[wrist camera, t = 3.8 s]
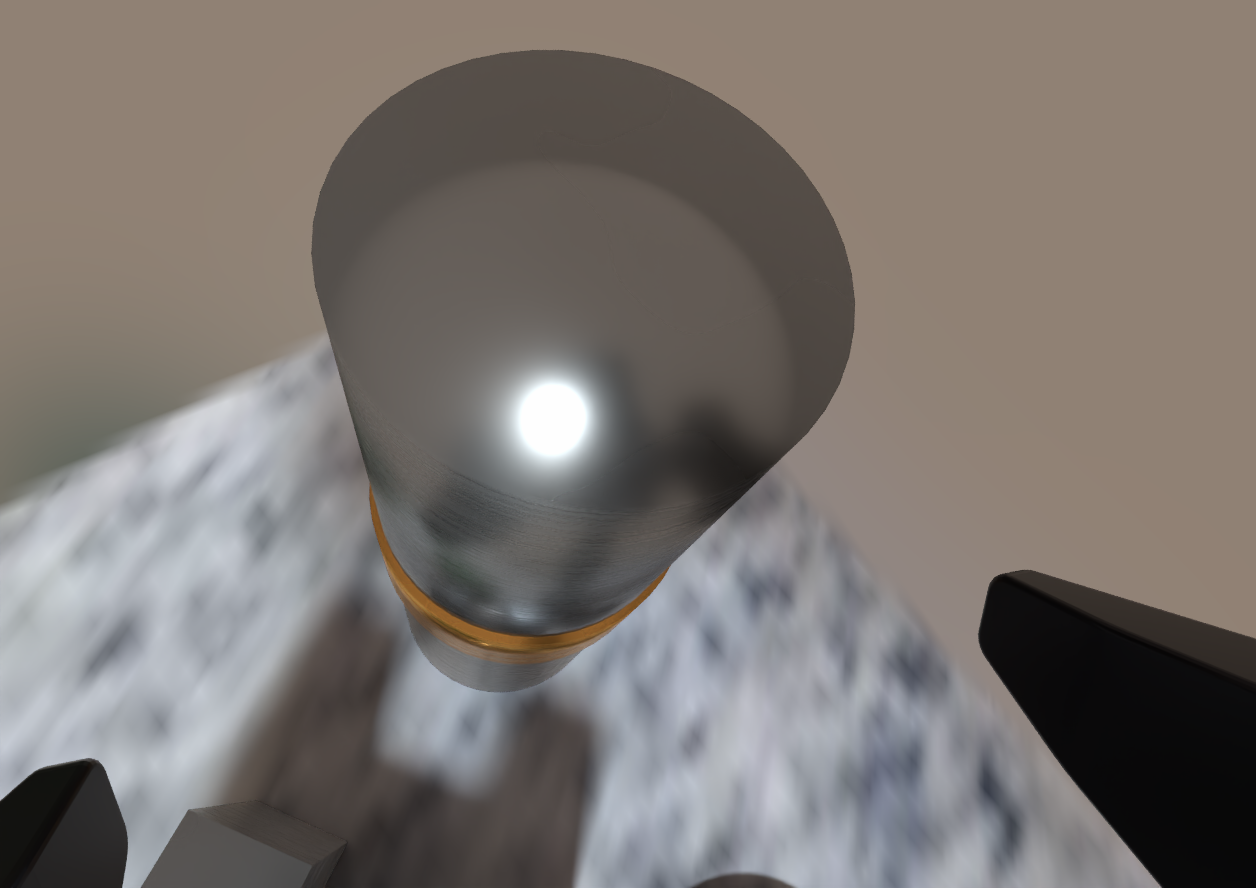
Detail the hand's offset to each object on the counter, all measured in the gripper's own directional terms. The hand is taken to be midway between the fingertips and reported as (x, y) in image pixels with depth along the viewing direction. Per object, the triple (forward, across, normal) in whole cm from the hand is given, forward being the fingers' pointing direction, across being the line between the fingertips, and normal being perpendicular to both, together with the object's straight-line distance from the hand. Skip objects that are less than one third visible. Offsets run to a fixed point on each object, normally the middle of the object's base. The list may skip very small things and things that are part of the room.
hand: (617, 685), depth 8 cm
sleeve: (+9, 0, +5) cm, 11 cm away
